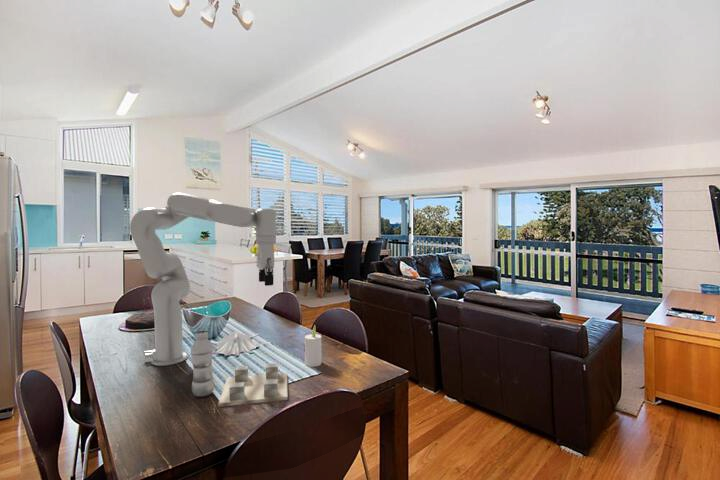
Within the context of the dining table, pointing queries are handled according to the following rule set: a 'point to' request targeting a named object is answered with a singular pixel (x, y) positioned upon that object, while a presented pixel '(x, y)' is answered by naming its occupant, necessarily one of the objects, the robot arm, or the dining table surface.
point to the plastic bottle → (202, 365)
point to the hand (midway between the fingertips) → (265, 283)
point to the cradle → (254, 387)
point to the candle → (312, 349)
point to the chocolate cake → (139, 322)
